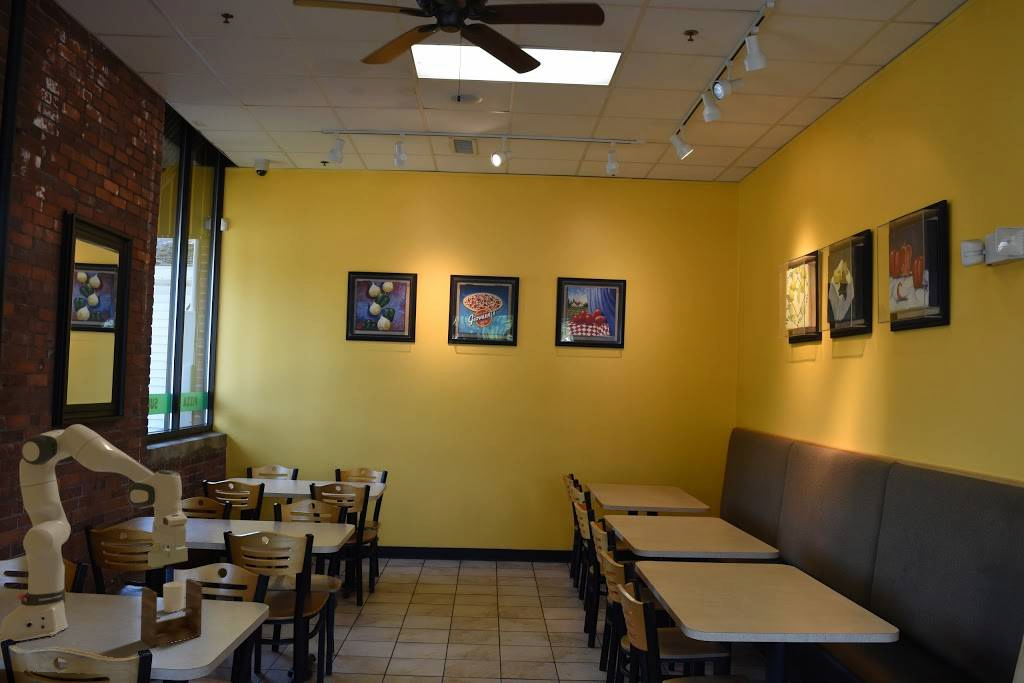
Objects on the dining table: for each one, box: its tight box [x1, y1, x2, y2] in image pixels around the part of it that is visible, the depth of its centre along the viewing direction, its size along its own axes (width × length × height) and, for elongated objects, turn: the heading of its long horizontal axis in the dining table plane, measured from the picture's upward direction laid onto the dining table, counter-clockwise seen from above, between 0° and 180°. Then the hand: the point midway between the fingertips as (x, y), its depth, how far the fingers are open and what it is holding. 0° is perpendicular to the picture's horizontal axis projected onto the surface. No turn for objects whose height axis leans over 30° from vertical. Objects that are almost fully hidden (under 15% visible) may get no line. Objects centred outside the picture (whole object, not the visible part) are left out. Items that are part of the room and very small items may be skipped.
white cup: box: [162, 580, 186, 613], centre depth 294 cm, size 8×8×10 cm
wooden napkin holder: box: [140, 578, 203, 649], centre depth 263 cm, size 16×11×18 cm
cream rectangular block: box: [147, 545, 189, 568], centre depth 263 cm, size 12×4×4 cm, turn 137°
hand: (168, 556), depth 263 cm, fingers closed on cream rectangular block, 4 cm apart
